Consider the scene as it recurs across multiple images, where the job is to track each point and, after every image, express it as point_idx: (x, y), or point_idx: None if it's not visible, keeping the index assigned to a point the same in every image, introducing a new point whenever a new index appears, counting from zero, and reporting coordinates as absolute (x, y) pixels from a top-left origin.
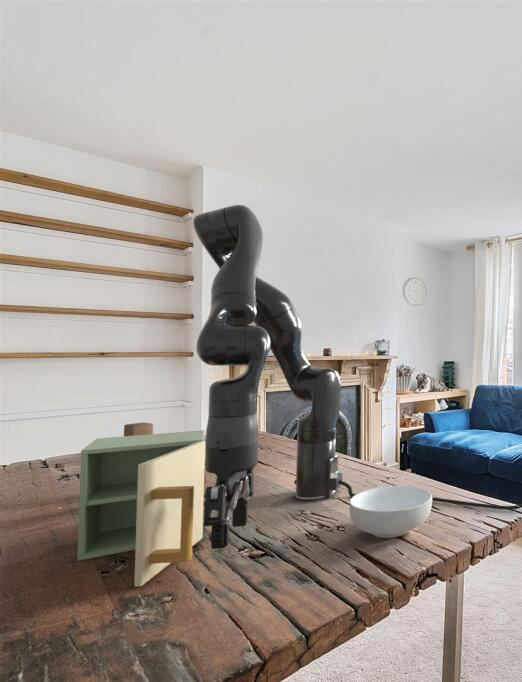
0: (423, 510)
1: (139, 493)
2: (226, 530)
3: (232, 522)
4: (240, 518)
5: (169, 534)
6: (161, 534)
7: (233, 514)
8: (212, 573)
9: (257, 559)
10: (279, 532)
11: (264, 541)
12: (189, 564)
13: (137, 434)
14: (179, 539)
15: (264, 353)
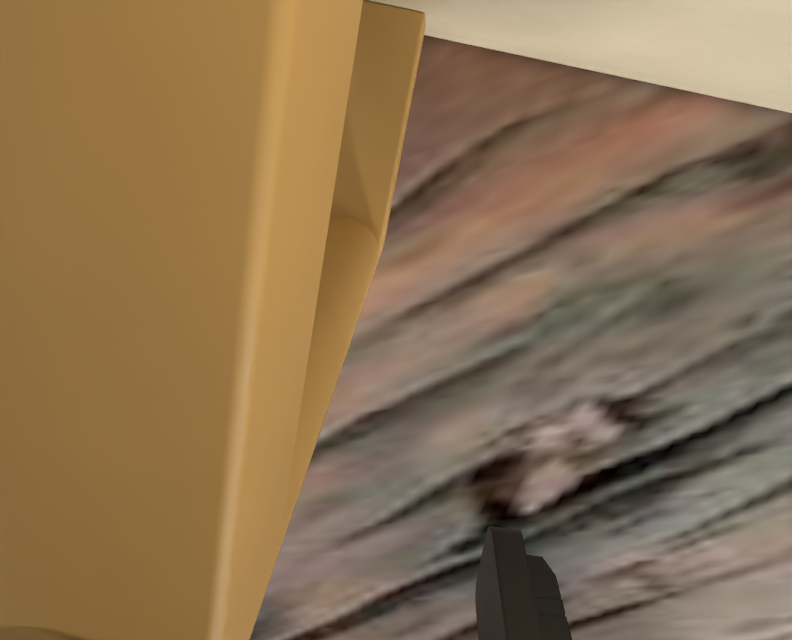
0: None
1: None
2: None
3: (495, 542)
4: (487, 609)
5: (622, 45)
6: (504, 13)
7: (498, 602)
8: (365, 333)
9: (453, 493)
10: (772, 549)
11: (677, 496)
12: (529, 186)
13: None
14: (727, 83)
15: None
